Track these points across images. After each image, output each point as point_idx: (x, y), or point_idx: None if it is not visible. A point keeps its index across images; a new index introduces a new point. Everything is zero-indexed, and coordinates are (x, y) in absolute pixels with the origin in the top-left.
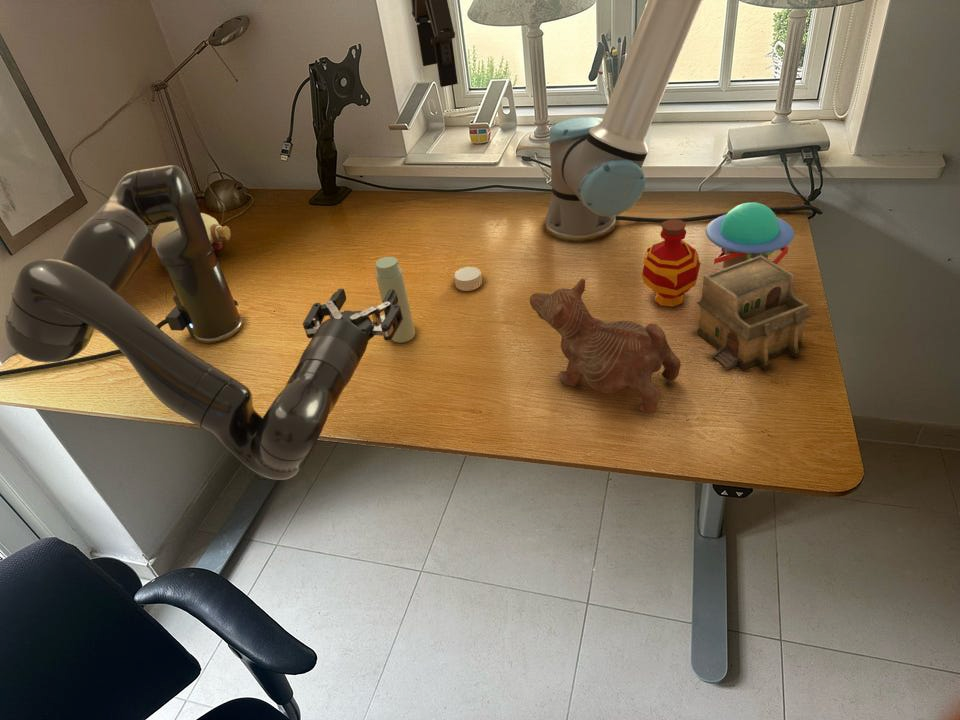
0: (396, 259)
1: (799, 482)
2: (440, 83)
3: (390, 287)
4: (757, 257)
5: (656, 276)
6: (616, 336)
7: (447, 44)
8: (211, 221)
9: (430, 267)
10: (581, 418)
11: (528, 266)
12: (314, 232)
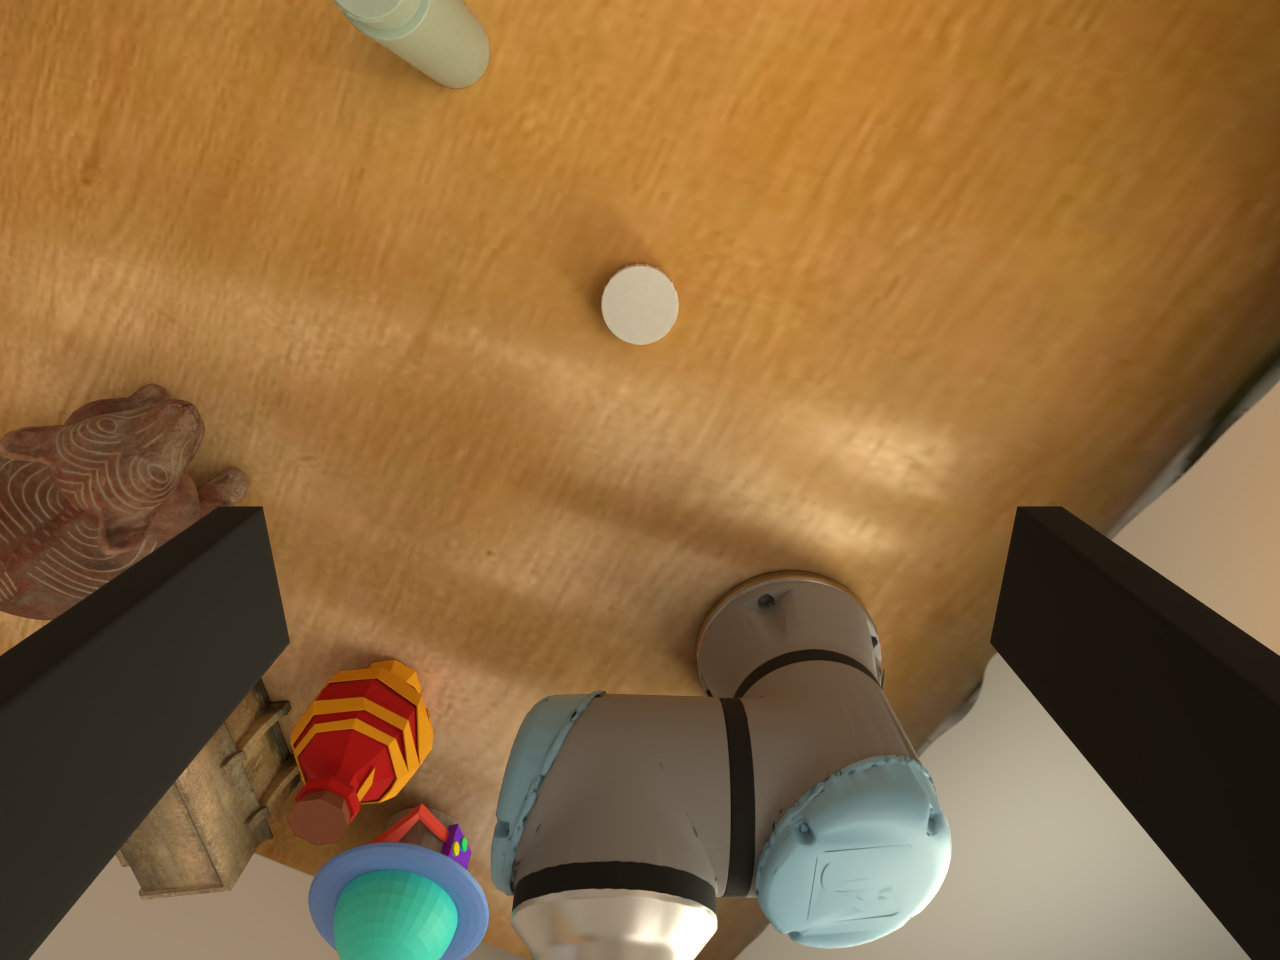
0: (370, 15)
1: None
2: (211, 518)
3: None
4: (223, 881)
5: (320, 698)
6: (18, 535)
7: None
8: None
9: (785, 214)
10: (38, 384)
11: (653, 473)
12: None
